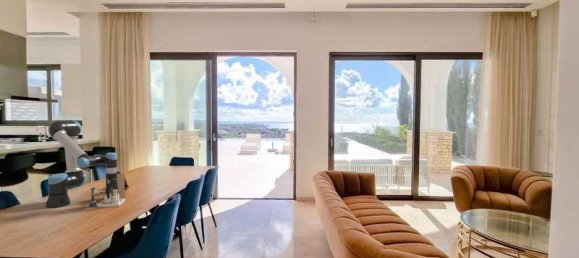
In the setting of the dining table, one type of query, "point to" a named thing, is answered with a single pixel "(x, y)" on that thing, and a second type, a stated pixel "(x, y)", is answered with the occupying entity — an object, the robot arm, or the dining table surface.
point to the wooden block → (119, 185)
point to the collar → (112, 199)
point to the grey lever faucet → (92, 200)
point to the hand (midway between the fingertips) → (111, 199)
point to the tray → (111, 204)
